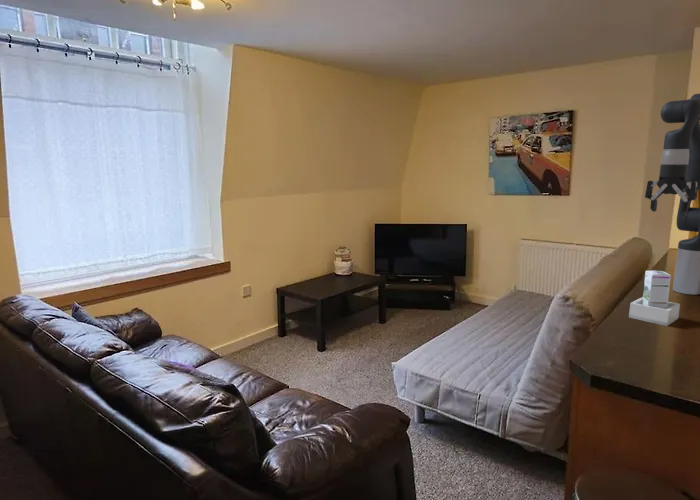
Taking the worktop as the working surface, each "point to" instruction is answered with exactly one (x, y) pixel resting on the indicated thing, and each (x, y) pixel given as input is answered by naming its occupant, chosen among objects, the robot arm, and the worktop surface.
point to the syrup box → (656, 289)
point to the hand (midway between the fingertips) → (668, 212)
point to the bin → (654, 312)
